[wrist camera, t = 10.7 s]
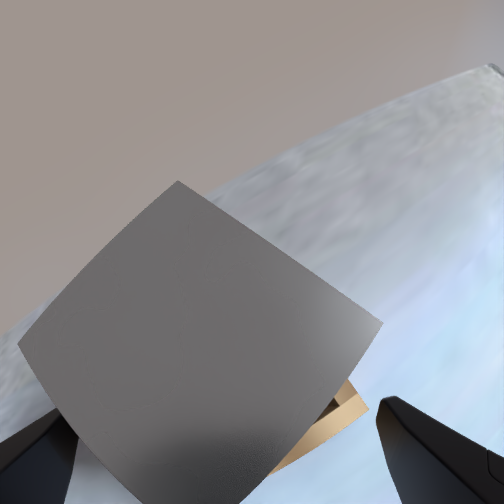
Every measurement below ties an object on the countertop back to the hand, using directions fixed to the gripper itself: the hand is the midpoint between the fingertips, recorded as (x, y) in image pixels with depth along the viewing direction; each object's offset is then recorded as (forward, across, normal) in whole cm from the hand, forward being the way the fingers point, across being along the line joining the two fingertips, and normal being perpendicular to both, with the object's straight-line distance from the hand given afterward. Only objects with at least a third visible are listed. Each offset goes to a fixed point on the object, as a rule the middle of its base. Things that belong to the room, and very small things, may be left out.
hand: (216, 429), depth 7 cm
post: (+7, 0, +4) cm, 8 cm away
